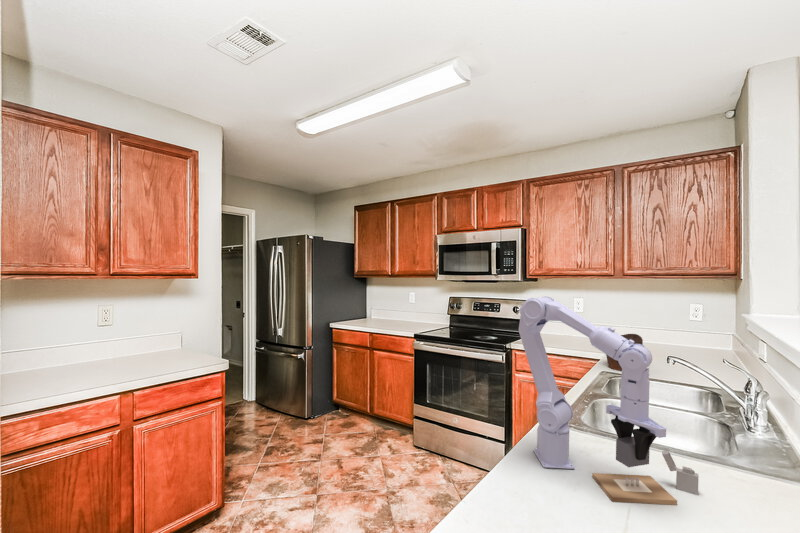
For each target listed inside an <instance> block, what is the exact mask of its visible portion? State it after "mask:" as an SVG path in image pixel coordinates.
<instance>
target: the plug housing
mask: <svg viewBox="0 0 800 533" xmlns="http://www.w3.org/2000/svg"><path fill="white" fill-rule="evenodd" d="M615 441H616V442H615V443H616V444H615V461H617V462H619V463H620V464H622V465H624V466H626V467H627V468H634V467H639V466H645V465H649V464H650V449H649V450H648V453H647V456H646V459H645V460H637V459H636V454H635V440H634V436H633V435H632V437H625V438H618V437H617V438H616V439H615Z"/></svg>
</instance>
